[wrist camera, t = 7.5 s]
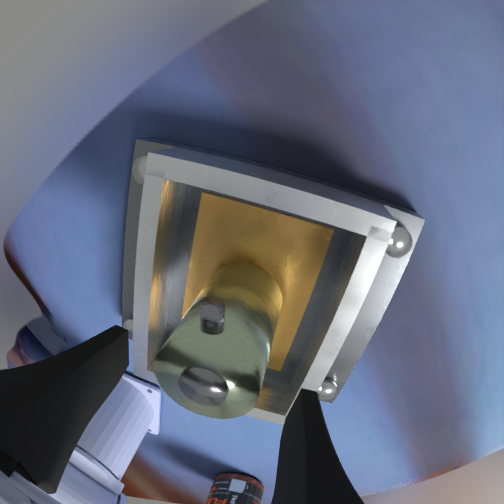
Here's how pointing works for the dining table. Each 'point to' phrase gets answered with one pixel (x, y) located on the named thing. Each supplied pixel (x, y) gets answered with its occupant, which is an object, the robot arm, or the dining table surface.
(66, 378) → the robot arm
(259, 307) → the spout can
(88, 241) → the dining table surface
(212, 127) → the dining table surface
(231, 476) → the supplement bottle
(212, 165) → the grey shallow box
